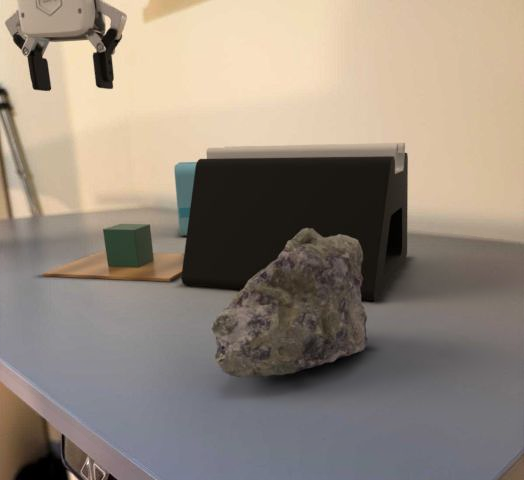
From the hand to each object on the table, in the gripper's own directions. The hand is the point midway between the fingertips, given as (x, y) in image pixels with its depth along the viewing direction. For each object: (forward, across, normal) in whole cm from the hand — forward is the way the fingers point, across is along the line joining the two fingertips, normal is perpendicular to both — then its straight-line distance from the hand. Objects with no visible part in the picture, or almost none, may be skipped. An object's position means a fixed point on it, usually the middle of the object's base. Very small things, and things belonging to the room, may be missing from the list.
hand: (73, 89), depth 72 cm
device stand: (+22, +33, -4) cm, 40 cm away
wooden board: (+22, +9, -5) cm, 25 cm away
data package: (+23, +6, +23) cm, 33 cm away
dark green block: (+22, +9, -5) cm, 24 cm away
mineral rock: (+22, +38, -32) cm, 55 cm away
